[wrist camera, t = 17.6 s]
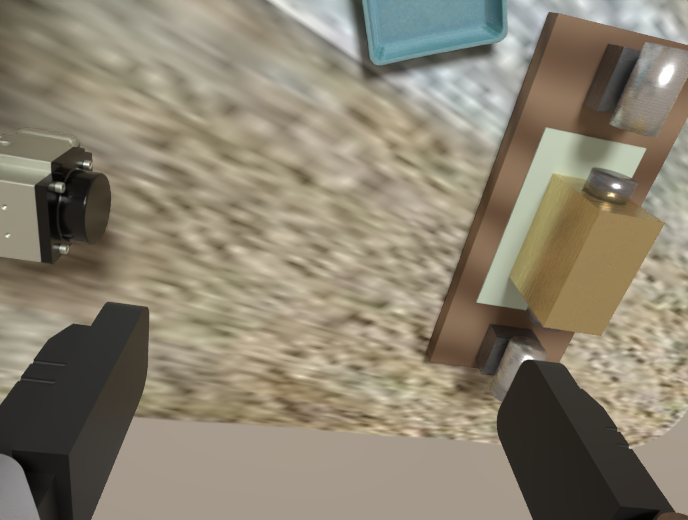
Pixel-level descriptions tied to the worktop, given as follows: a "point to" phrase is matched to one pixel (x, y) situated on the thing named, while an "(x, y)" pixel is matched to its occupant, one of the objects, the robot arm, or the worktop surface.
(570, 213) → the coupling block
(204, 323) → the worktop surface
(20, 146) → the pneumatic valve
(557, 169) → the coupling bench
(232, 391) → the worktop surface
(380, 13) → the rectangular tray
